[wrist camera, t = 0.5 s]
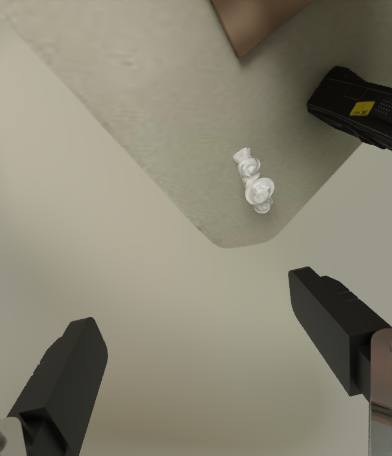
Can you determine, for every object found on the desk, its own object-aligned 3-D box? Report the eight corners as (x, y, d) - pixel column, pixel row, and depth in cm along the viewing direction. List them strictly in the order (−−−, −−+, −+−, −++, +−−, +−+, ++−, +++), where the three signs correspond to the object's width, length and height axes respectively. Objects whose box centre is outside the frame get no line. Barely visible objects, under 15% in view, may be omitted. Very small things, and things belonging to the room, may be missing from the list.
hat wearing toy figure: (221, 143, 38) (239, 179, 29) (245, 131, 38) (271, 164, 28) (240, 189, 44) (260, 232, 34) (262, 179, 43) (288, 220, 33)
